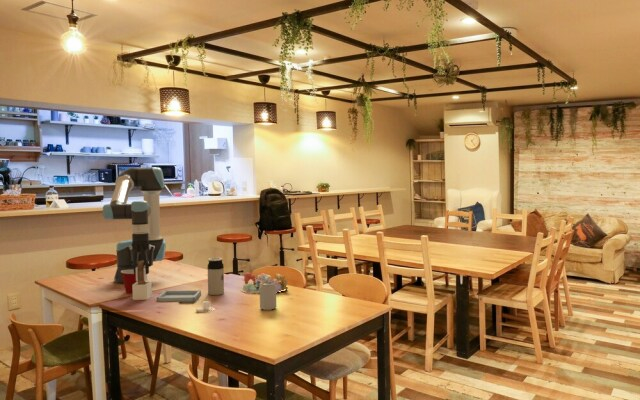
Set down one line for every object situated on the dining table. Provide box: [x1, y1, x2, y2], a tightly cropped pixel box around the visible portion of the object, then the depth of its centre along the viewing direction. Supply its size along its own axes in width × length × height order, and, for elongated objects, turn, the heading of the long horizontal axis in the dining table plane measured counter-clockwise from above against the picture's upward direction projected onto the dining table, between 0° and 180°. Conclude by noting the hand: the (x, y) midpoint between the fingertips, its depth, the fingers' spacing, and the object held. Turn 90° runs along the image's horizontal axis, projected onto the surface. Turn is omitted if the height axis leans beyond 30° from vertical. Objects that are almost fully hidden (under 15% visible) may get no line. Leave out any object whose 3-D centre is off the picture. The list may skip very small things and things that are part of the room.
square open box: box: [132, 281, 153, 301], centre depth 243 cm, size 7×7×8 cm
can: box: [259, 282, 277, 311], centre depth 225 cm, size 8×8×12 cm
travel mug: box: [207, 257, 225, 296], centre depth 253 cm, size 8×8×18 cm
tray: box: [156, 289, 202, 304], centre depth 244 cm, size 14×18×2 cm
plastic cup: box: [121, 270, 138, 295], centre depth 255 cm, size 11×11×12 cm
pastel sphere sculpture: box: [240, 271, 288, 295], centre depth 262 cm, size 25×24×9 cm
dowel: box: [138, 261, 146, 285], centre depth 242 cm, size 3×3×18 cm
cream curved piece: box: [195, 300, 216, 313], centre depth 224 cm, size 9×8×4 cm
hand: (141, 280), depth 242 cm, fingers closed on dowel, 3 cm apart
